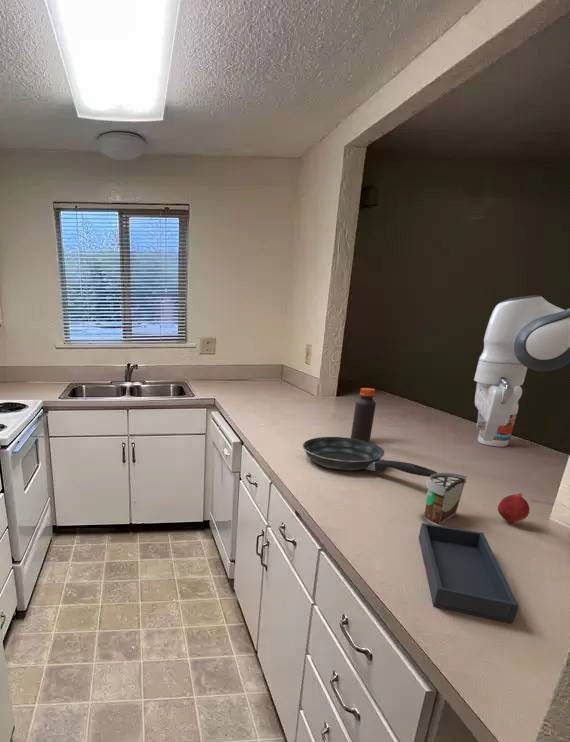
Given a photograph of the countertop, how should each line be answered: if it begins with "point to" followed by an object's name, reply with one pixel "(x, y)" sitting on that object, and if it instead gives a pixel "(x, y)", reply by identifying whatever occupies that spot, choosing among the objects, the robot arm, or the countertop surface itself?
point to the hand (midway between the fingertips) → (483, 434)
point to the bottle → (364, 415)
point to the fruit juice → (505, 431)
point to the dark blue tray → (465, 573)
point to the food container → (443, 496)
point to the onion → (513, 508)
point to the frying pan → (355, 456)
